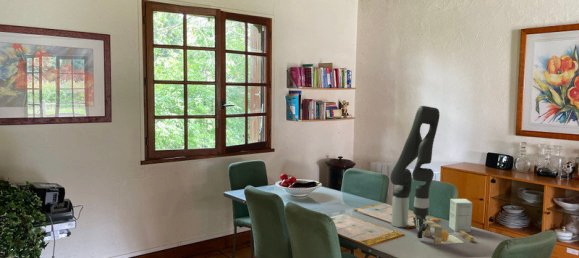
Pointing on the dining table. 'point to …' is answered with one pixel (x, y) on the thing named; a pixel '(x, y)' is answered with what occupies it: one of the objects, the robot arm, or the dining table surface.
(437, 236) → the bridge
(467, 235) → the stopper wall
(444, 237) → the ball
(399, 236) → the dining table surface
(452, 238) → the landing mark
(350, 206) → the dining table surface
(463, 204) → the supplement box
